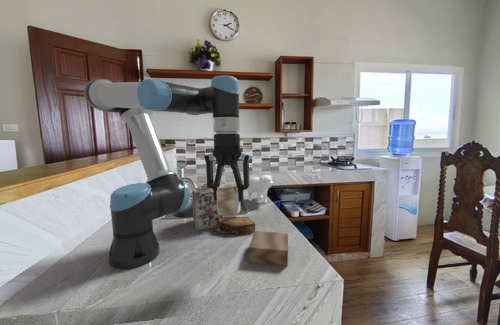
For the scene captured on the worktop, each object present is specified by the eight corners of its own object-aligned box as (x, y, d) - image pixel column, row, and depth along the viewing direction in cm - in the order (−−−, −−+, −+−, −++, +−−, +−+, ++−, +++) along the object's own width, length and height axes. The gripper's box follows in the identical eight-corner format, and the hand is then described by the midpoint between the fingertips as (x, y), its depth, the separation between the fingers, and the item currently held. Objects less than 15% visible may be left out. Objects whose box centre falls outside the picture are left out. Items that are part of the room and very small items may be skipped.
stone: (250, 224, 103) (250, 213, 102) (255, 233, 94) (255, 221, 93) (216, 227, 99) (216, 216, 99) (218, 237, 90) (218, 225, 90)
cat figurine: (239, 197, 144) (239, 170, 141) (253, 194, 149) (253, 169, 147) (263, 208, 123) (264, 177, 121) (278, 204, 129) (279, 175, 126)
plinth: (249, 262, 73) (249, 247, 72) (254, 244, 84) (254, 231, 84) (287, 265, 71) (287, 250, 70) (287, 246, 83) (287, 233, 82)
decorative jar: (218, 217, 111) (217, 180, 108) (223, 226, 100) (222, 186, 97) (192, 220, 107) (191, 182, 104) (195, 230, 96) (194, 188, 93)
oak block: (218, 214, 67) (217, 187, 66) (223, 209, 72) (222, 184, 71) (234, 215, 66) (234, 188, 65) (239, 210, 71) (238, 184, 70)
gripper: (191, 133, 64) (195, 214, 67) (255, 132, 61) (256, 217, 64) (202, 133, 72) (205, 206, 75) (259, 132, 68) (260, 208, 71)
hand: (229, 211), depth 69 cm, fingers closed on oak block, 5 cm apart
